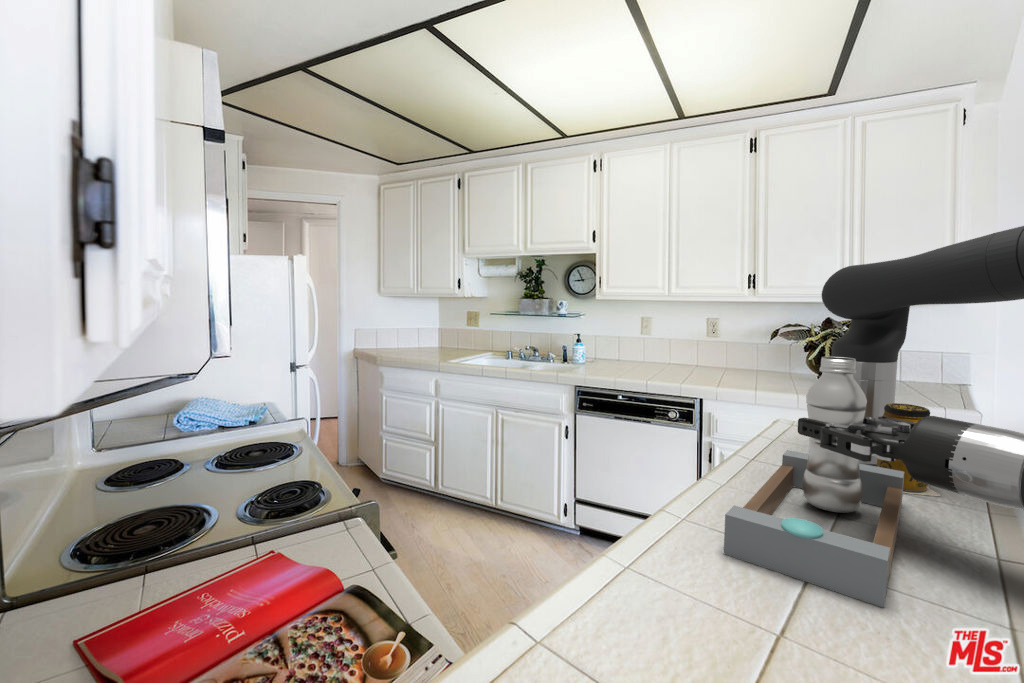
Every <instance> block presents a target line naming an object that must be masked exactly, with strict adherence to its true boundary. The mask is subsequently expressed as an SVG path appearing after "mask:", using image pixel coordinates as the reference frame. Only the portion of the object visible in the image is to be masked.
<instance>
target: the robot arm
mask: <svg viewBox="0 0 1024 683" xmlns="http://www.w3.org/2000/svg"><path fill="white" fill-rule="evenodd" d="M821 300H822V301H821V302H822V303H823V305H824V307H825V308H826V309H827V310H828V311H829V312H830V313H832V314H833V315H835V316H837V317H838V318H843V319H846V320H850V321H851V322H850V327H849V329H848V331H847V332H846V333H845V334H844V335H843V336H841V337H839V338H838V339H836V340H835V341H833V343H832V346H831V354H830V357H846V358H854V359H856V368H855V369H856V374H853V379H854V380H855V381H856V382H857V384H858V385H859V386H860V388H861V389H862V391H863V392H864V394H865V397H866V400H867V405H866V409H865V415H864V419H863V424H860V423H851V424H850V425H848V426H845V425H837V424H833V423H826V422H822V421H817V420H813V419H809V418H808V417H800V418H798V420H797V433H798V434H799V435H801V436H804V437H808V438H810V437H812V438H815V439H819V440H821V442H820V447H822V448H824V449H828V450H831V451H834V452H837V453H840V454H843V455H846V456H849V457H852V458H855V459H858V460H859V463H860V464H865V465H877V458H878V459H880V460H886V461H895V459H897V460H898V459H900V460H901V461H902V462H903V463H904V464H905V466H906V468H907V471H908V473H909V474H910V476H911V477H912V478H913V479H914V480H916V481H918V482H921V483H924V484H928V485H927V486H932V487H935V488H937V489H942V490H945V491H947V492H948V491H949V492H952V493H955V494H957V495H958V494H959V495H962V496H965V497H969V498H972V499H974V500H975V499H976V500H979V501H982V502H984V503H985V502H986V503H988V504H992V505H996V506H1000V507H1006V508H1010V509H1016V510H1020V511H1024V433H1023V432H1019V431H1016V430H1010V429H1008V428H1000V427H995V426H991V425H983V424H979V423H973V422H968V421H964V420H958V419H952V418H947V417H942V416H941V417H940V416H936V415H930V416H927V417H924V418H922V419H920V420H919V421H918V422H917V423H916V422H910V421H905V420H899V419H893V418H888V417H885V416H883V414H884V407H885V406H886V405H887V404H891V403H895V400H896V389H897V388H896V385H897V374H898V373H897V370H898V360H899V359H898V356H899V353H900V351H901V349H902V347H903V345H904V344H905V340H906V337H907V330H908V322H909V317H910V316H909V314H910V308H911V306H912V307H913V306H923V305H961V304H962V305H963V304H965V305H966V304H986V303H1000V302H1010V301H1011V302H1012V301H1020V300H1024V225H1021V226H1017V227H1014V228H1008V229H1006V230H1000V231H997V232H996V231H995V232H993V233H990V234H986V235H983V236H978V237H975V238H971V239H967V240H964V241H961V242H957V243H953V244H949V245H946V246H943V247H940V248H935V249H932V250H928V251H926V252H923V253H919V254H916V255H911V256H907V257H903V258H898V259H892V260H884V261H878V262H872V263H863V264H855V265H849V266H845V267H842V268H841V269H839V270H837V271H836V272H834V273H833V274H832V275H831V276H830V277H828V279H827V280H826V282H825V283H824V285H823V287H822V290H821ZM858 430H861V435H857V431H858Z"/></svg>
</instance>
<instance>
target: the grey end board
mask: <svg viewBox="0 0 1024 683" xmlns="http://www.w3.org/2000/svg"><path fill="white" fill-rule="evenodd" d="M723 533H724V534H723V535H724V537H723V538H724V539H723V554H724V555H727V556H730V557H732V558H735V559H738V560H741V561H744V562H748V563H750V564H753V565H756V566H759V567H762V568H765V569H769V570H771V571H772V572H773V571H774V572H776V573H780V574H782V575H786V576H789V577H791V578H795V579H798V580H800V581H802V582H806V583H808V584H813V585H814V586H815V585H816V586H818V587H820V588H824V589H827V590H829V591H833V592H836V593H839V594H841V595H844V596H847V597H850V598H853V599H856V600H859V601H862V602H865V603H869V604H871V605H874V606H877V607H880V608H883V609H885V604H886V598H887V595H888V594H887V593H888V588H887V582H888V569H889V556H890V548H889V547H886V546H882V545H878V544H875V543H873V542H870V541H866V540H863V539H860V538H856V537H851V536H849V535H845V534H842V533H837V532H833V531H830V530H826V529H823V528H822V526H820V525H819V524H817V523H815V522H813V521H810V520H807V519H804V518H799V517H798V518H797V517H788V518H782V517H779V516H774V515H772V514H771V515H768V514H764V513H760V512H757V511H753V510H749V509H746V508H743V507H741V506H737V505H733V506H732V507H731V508H730V509H729V510H727V512H726V513H725V515H724V532H723ZM888 583H889V582H888Z"/></svg>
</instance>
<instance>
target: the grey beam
mask: <svg viewBox="0 0 1024 683" xmlns="http://www.w3.org/2000/svg"><path fill="white" fill-rule="evenodd" d="M781 460H782V461H781V462H782V463H781V465H787V466H792V467H794V468H793V487H794V488H796V489H797V488H798V489H802V490H803V487H802V482H803V477H804V473H805V470H806V469H807V460H808V453H805V452H801V451H794V450H791V449H790V450H789V449H787V450H786V451H785V452H784V453H783V454H782V459H781ZM859 468H860V478H861V482H862V489H863V497H862V501H861V504H862V503H863V504H867V505H872V506H877V507H880V508H882V507H883V503H884V499H885V495H886V491H887V487H888V486H889V487H894V488H899V489H902V497H904V496H903V495H904V494H903V483H904V472H903V471H898V470H892V469H887V468H882V467H877V465H872V464H862V463H859ZM793 487H792V488H793ZM902 505H903V499H902V500H901V507H902Z"/></svg>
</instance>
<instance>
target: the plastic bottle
mask: <svg viewBox="0 0 1024 683" xmlns="http://www.w3.org/2000/svg"><path fill="white" fill-rule="evenodd" d="M855 368H856V359H854V358H846V357H831V356H821V359H820V367H819V372H821V373H822V374H821V375H820V377H819V378H818V379H817V380H816V381H815V382H814V383H813V384H812V385H811V386H810V387H809V389H808V390H807V393H806V396H805V397H806V398H805V399H806V402H805V403H806V409H807V410H806V411H807V418H809V419H813V420H817V421H822V422H826V423H833V424H837V425H845V426H848V425H850V424H851V423H860V424H863V419H864V415H865V409H866V405H867V400H866V397H865V394H864V392H863V391H862V389H861V388H860V386H859V385H858V384H857V382H856V381H855V380H854V379H853V374H856V369H855ZM857 435H861V430H858V431H857ZM808 438H809V448H808V453H807V454H808V460H807V469H806V470H805V473H804V477H803V482H802V487H803V489H802V492H803V497H804V498H805V500H806V501H807V502H808V503H809V504H810V505H811V506H813V507H815V508H817V509H820V510H823V511H827V512H828V511H829V512H833V513H840V514H841V513H843V514H848V513H853V512H855V511H856V510H857V509H859V508H860V507H861V504H862V502H861V501H862V497H863V489H862V482H861V478H860V468H859V460H858V459H855V458H852V457H849V456H846V455H843V454H840V453H837V452H834V451H831V450H828V449H824V448H822V447H820V442H821V440H819V439H815V438H812V437H808Z"/></svg>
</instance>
